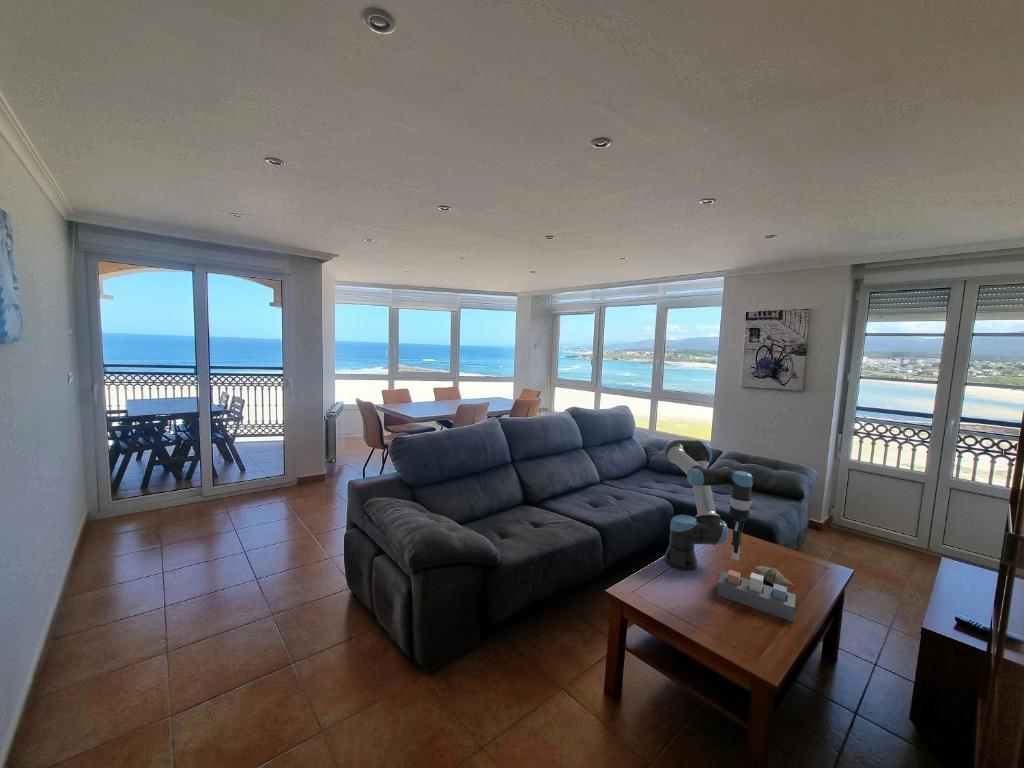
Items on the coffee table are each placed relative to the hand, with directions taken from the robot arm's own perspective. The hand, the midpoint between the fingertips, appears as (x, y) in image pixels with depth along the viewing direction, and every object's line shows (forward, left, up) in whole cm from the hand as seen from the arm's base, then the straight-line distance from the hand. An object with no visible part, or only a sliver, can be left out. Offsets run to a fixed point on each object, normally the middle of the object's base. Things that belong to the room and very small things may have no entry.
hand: (735, 558), depth 180 cm
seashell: (+14, +19, -17) cm, 28 cm away
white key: (+9, 0, -12) cm, 15 cm away
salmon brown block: (0, 0, -14) cm, 14 cm away
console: (+9, 0, -16) cm, 18 cm away
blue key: (+17, 0, -14) cm, 22 cm away
